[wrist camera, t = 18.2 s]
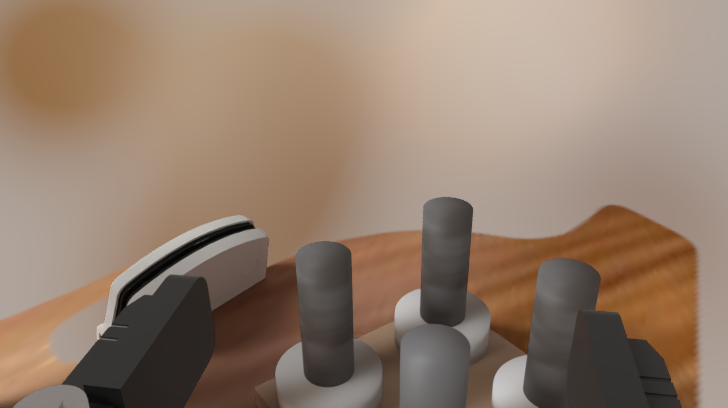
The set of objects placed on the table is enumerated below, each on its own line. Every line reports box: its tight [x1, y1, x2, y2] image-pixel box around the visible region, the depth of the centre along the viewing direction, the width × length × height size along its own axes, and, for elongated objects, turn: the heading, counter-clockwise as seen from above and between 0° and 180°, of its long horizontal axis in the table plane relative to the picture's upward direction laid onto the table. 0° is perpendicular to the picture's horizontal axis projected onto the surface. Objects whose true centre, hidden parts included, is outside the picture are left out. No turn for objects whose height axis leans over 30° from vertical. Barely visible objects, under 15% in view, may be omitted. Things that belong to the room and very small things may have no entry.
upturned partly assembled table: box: [254, 197, 601, 408], centre depth 43 cm, size 19×19×15 cm
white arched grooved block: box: [97, 215, 269, 340], centre depth 59 cm, size 17×5×10 cm, turn 142°
